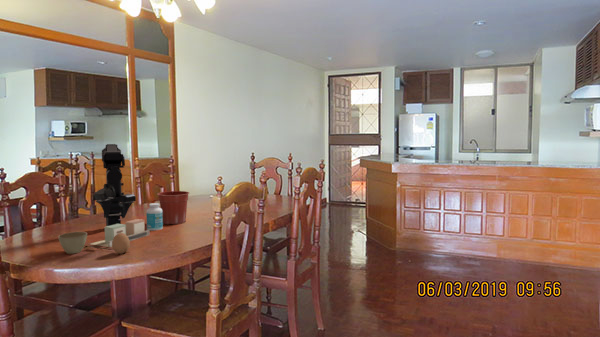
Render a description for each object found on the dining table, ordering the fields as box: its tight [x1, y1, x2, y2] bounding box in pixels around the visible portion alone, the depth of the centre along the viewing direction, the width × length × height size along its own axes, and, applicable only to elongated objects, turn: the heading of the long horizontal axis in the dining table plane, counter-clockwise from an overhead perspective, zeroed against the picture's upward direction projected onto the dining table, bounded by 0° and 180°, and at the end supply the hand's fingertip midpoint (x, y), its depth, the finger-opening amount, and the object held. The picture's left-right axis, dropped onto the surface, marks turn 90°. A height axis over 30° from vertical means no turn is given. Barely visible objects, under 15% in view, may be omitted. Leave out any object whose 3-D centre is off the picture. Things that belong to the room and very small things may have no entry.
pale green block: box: [104, 223, 126, 244], centre depth 171 cm, size 5×7×7 cm
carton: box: [124, 218, 146, 236], centre depth 181 cm, size 5×7×7 cm
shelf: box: [89, 229, 151, 251], centre depth 175 cm, size 12×22×3 cm, turn 157°
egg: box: [111, 233, 131, 255], centre depth 158 cm, size 6×6×8 cm
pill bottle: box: [146, 202, 164, 231], centre depth 196 cm, size 8×7×14 cm
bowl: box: [58, 231, 88, 255], centre depth 160 cm, size 10×10×7 cm
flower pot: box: [156, 190, 190, 225], centre depth 216 cm, size 16×16×16 cm
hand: (115, 217), depth 170 cm, fingers open, 9 cm apart
